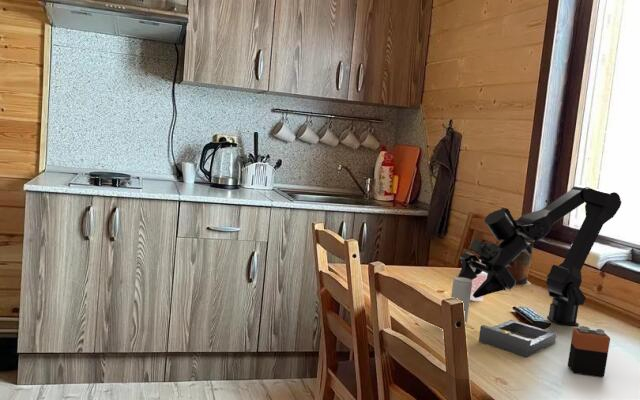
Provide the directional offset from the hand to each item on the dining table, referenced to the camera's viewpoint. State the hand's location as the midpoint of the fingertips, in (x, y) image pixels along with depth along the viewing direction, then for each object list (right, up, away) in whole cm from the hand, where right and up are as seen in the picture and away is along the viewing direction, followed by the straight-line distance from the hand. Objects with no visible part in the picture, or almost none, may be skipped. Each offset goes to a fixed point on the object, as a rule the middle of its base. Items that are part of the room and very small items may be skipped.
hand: (464, 291), depth 163 cm
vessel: (+30, -5, +60) cm, 67 cm away
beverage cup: (+10, -7, +28) cm, 31 cm away
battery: (+21, -14, -25) cm, 36 cm away
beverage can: (-2, -9, +1) cm, 9 cm away
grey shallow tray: (+10, -11, -10) cm, 18 cm away
